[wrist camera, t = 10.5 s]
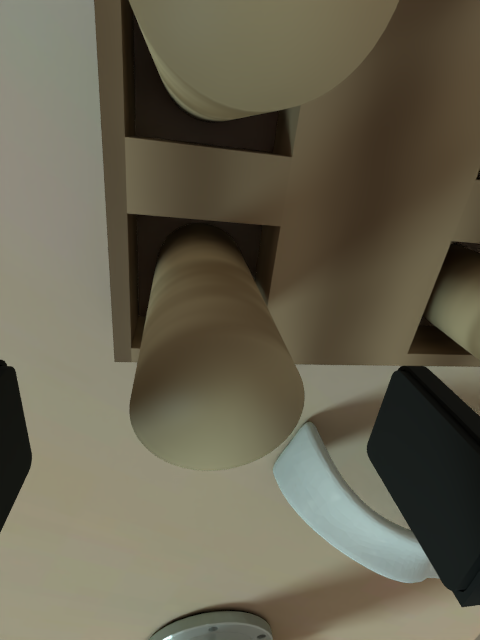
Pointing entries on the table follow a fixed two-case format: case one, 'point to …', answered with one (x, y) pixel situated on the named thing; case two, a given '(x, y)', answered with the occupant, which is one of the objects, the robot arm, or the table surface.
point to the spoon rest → (345, 512)
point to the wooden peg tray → (312, 165)
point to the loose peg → (211, 359)
